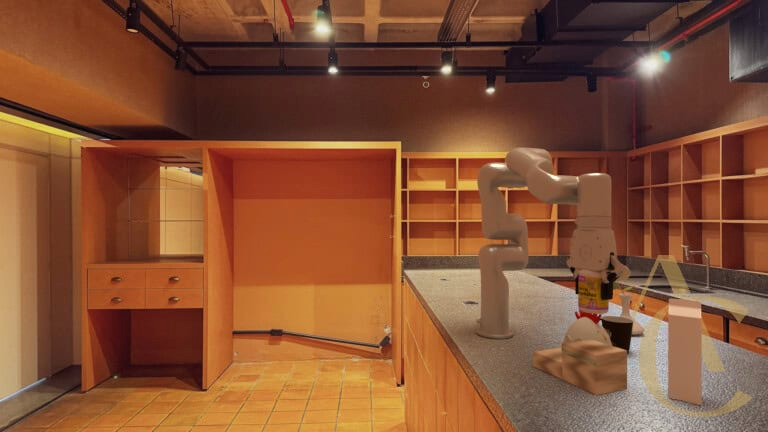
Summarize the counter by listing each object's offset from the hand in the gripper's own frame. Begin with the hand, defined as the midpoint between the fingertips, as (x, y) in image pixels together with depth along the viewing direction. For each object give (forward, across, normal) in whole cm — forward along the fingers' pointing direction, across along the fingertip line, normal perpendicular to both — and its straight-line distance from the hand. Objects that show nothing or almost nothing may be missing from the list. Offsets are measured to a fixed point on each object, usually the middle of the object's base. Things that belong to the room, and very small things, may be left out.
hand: (593, 296), depth 100 cm
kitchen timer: (+22, -15, +15) cm, 30 cm away
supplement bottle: (+4, 0, 0) cm, 4 cm away
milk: (+21, +13, +13) cm, 28 cm away
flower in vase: (+22, -31, +51) cm, 63 cm away
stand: (+21, -5, 0) cm, 22 cm away
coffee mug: (+22, -17, +29) cm, 40 cm away
